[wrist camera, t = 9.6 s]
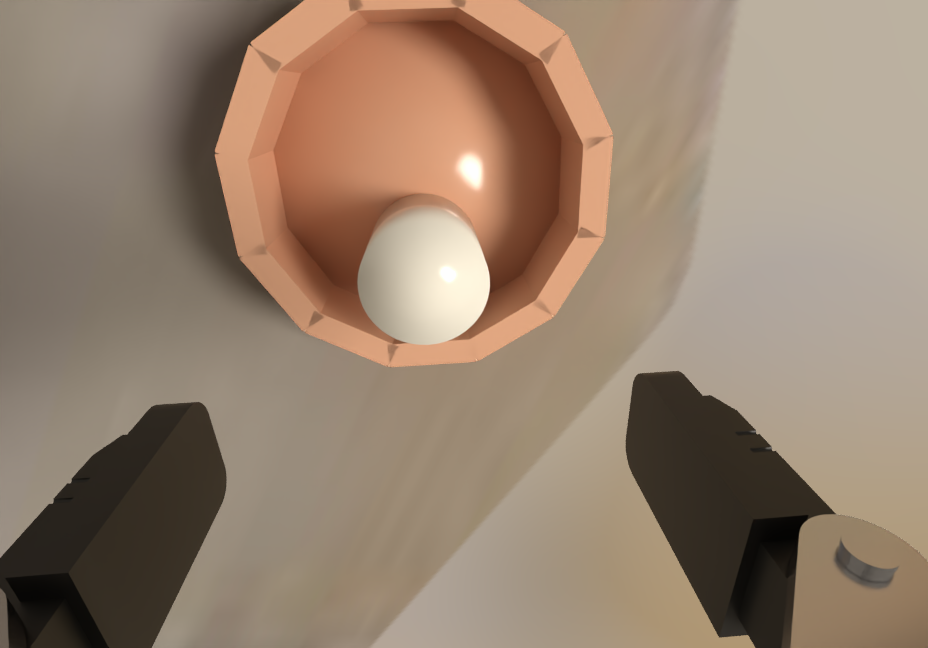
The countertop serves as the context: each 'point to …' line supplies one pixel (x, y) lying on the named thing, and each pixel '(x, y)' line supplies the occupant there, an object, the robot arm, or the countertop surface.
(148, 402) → the countertop surface
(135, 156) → the countertop surface
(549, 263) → the bowl
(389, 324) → the cream rounded lump
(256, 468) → the countertop surface
